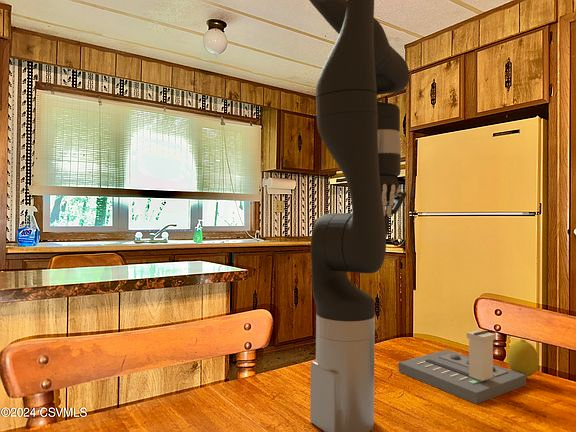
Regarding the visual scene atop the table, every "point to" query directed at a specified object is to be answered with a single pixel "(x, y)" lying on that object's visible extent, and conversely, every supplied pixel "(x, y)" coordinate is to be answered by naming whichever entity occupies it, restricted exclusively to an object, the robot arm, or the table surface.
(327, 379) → the robot arm
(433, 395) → the table surface
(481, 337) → the fader knob
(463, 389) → the console
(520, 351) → the lemon
